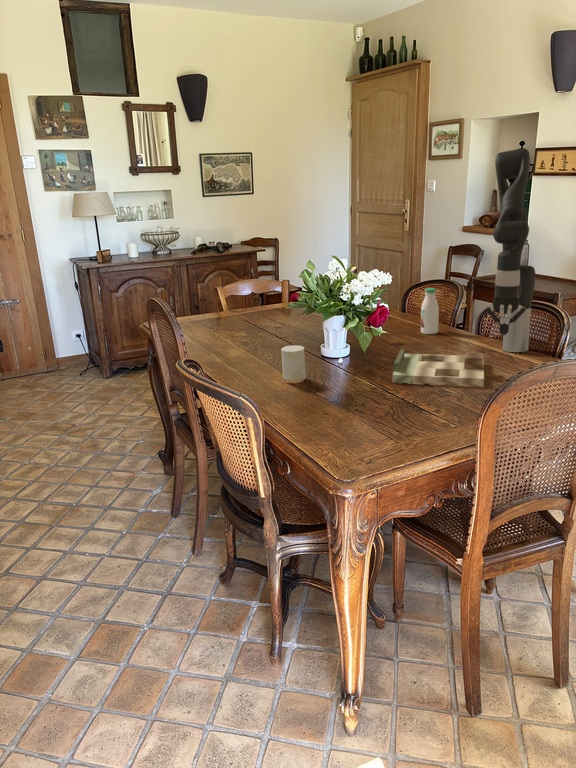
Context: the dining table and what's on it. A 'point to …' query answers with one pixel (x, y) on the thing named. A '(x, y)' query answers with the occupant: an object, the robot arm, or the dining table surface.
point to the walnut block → (473, 361)
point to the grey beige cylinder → (293, 363)
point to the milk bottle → (429, 312)
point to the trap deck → (435, 370)
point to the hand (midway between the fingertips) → (503, 334)
